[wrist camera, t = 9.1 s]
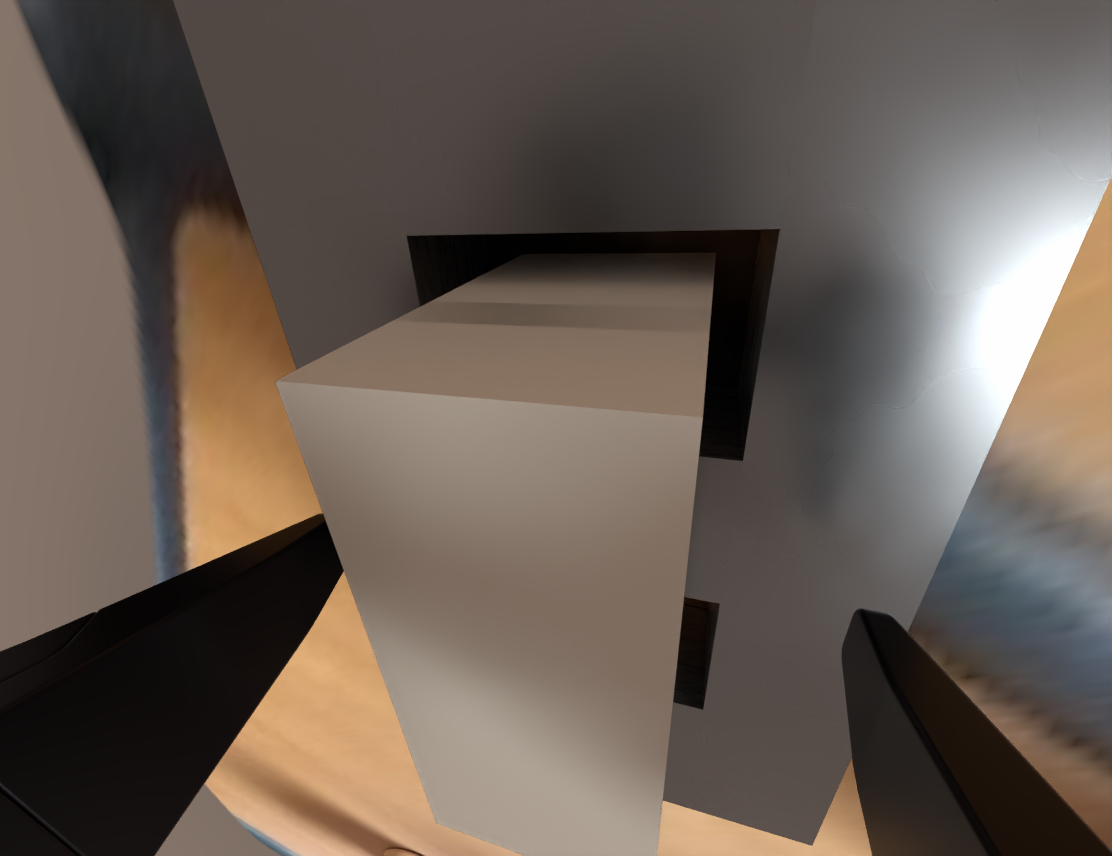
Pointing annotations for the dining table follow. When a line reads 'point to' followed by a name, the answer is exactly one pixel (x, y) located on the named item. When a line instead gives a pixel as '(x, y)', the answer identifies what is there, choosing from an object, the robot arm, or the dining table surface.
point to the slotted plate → (712, 204)
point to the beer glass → (398, 852)
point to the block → (524, 533)
